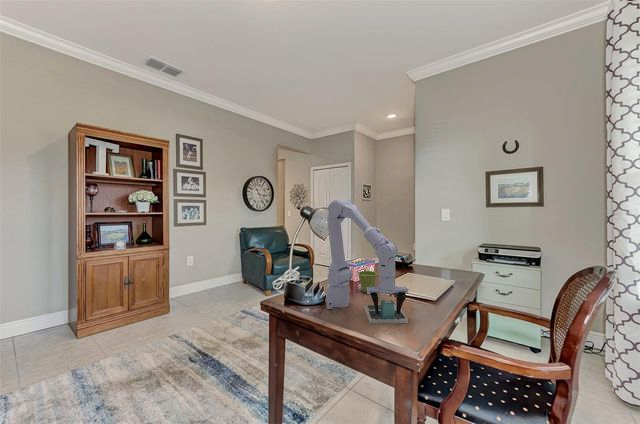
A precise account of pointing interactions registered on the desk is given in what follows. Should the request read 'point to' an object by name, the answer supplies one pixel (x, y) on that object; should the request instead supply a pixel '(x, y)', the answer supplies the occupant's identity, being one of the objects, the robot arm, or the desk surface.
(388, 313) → the block
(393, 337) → the desk surface
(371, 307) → the lid
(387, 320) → the case
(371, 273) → the plant pot
